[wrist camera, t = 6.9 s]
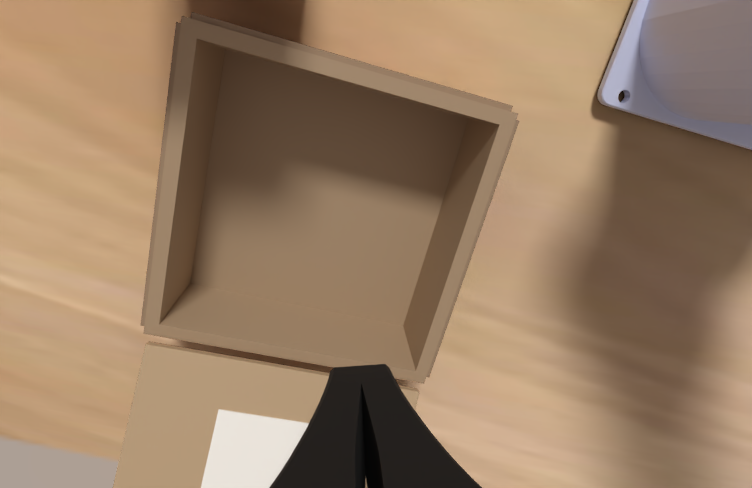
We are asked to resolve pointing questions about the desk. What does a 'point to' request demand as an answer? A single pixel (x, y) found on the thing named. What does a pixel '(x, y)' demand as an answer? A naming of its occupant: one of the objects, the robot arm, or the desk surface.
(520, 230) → the desk surface
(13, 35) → the desk surface
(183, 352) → the carton flap
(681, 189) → the desk surface
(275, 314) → the carton
